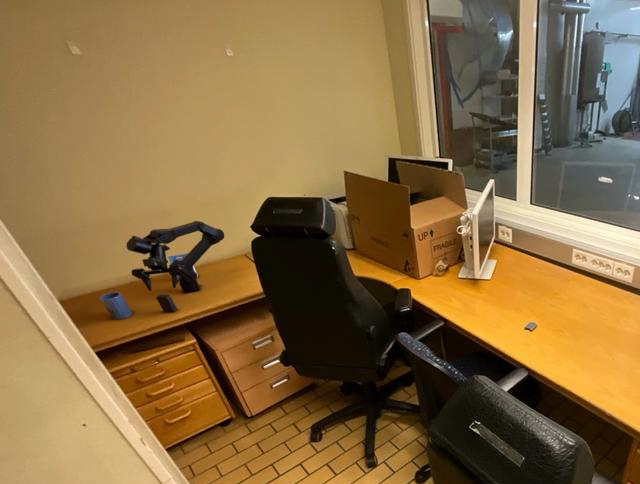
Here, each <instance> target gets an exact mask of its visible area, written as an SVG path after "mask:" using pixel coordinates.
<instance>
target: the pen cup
mask: <svg viewBox="0 0 640 484" xmlns="http://www.w3.org/2000/svg"><path fill="white" fill-rule="evenodd" d="M99 300H100V301H101V303H102V305H103V306H104V308H105V309H106V311H107V312H108V314H109V315H110V317H111V318H112V319H113V320H123V319H126V318H129V317H131V316H132V315H133V311H132V309H131V308H130V306H129V305H128V303H127V301H126V300H125V298H124V296H123V295H122V293H121V292H120V291H113V292H108V293H105V294H102V295H101V296H100V297H99Z"/></svg>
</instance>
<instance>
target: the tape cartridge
mask: <svg viewBox="0 0 640 484" xmlns="http://www.w3.org/2000/svg"><path fill="white" fill-rule="evenodd" d="M187 254H188V253H184V254H183V253H182V254H175V255H168V256H167V258H168V260H169V265H171V264H172V263H173V261H174V260H179V261H180V260H182V259H183V258H184V257H185V256H186V255H187ZM192 272H193V273H196V274H197V278H196V279H198V278H199V274H198V272H197V270H196V268H195V266H194V265H193V270H192Z"/></svg>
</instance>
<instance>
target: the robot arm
mask: <svg viewBox="0 0 640 484" xmlns="http://www.w3.org/2000/svg"><path fill="white" fill-rule="evenodd" d="M196 232H199V233H201V239H200V240H199V241H198V243H196V244H195V245H194V247H193V248H192V249H191V250H190V251H189V252H188V253H186V254H187V255H186V256H185V257H184V258H183V257H182V258H183V259H182V260H180V261H179V260H174V261H173V263H172V264H171V265H170V264H169V265H168V263H169V261H168V260H167V254H166V252H167V251H169V250H171V247H169V246H168V245H169V244H171V243H172V242H175V240H177V238H179V237H183V236H186V235H189V234H192V233H196ZM225 237H226V236H225V232H224V231H223V229H220V228H216V227H214V226H211V225H209V224H207V223H205V222H203V221H199V220H194V221H192V222H188V223H183V224H181V225H178V226H174V227H170V228H155V229H152V230H150V231H149V234H147V235H146V236H144V237H139V236H136V235H132V236H131V238H129V239H128V241H126V248H127V250H128V252H129V251H130V252H134V253H136V254H142V255H147V254H148V255H149V256H148V257H147V258H143V259H142V260H141V261H142V265H143V267H144V268H146V267H147V270H146V269H144V268H143V267H140V268H139V267H138V268H133V269H132V270H131V276H133V277H135V278H136V279H139V280H141V281H142V282H143V284H144V285H145V286H146V288H147V290H148V291H149V292H152V279H151V278H150V276H151V275H159V274H167V273H168V274H169V275H170V276H171V284H172V288H173V289H176V287H177V285H178V284H179V286H180V288H181V291H183V294H188V293H193V292H194V293H195V292H199V291H200V290H201V284H199V282H198V278H197V274H198V273H197V274H196V273H193V272H192V270H193V266H194V265H196V263H198V261H199V260H200V259H201V258H202V257H203V256H204V255H205V254H206V252H208V251H209V249H210V248H211V247H212V246H213V245H217V244H218V243H220V242H221V241H223V240H224V238H225Z"/></svg>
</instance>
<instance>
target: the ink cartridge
mask: <svg viewBox="0 0 640 484" xmlns="http://www.w3.org/2000/svg"><path fill="white" fill-rule="evenodd" d="M155 299H156V301H157V302H158V305H159V306H160V308H161V310H162V311H163V312H164V313H175V312H176V311H177V310H178V307H177V306H176V304H175V301H174V299H173V298H172V296H171V295H170V294H158V295H157V296H155Z"/></svg>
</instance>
